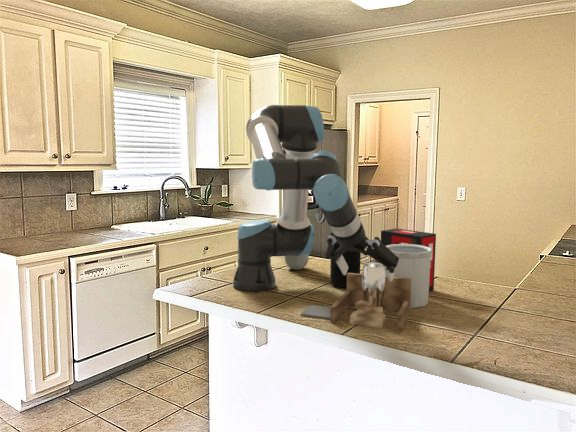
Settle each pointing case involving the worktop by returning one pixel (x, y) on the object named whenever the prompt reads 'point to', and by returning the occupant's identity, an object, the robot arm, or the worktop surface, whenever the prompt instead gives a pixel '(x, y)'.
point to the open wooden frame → (393, 299)
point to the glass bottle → (297, 261)
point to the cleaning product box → (413, 238)
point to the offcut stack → (368, 315)
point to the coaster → (317, 312)
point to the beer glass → (374, 283)
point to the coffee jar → (353, 267)
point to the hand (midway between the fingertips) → (368, 274)
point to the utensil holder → (414, 270)
